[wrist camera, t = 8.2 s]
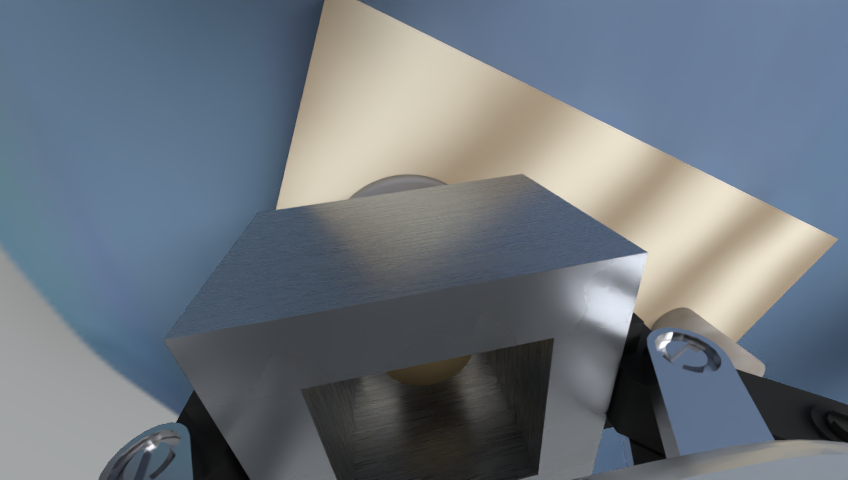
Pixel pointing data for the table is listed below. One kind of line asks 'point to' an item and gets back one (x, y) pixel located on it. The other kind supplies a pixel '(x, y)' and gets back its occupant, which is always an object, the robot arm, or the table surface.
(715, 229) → the stand board
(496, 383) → the collar
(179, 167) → the table surface
